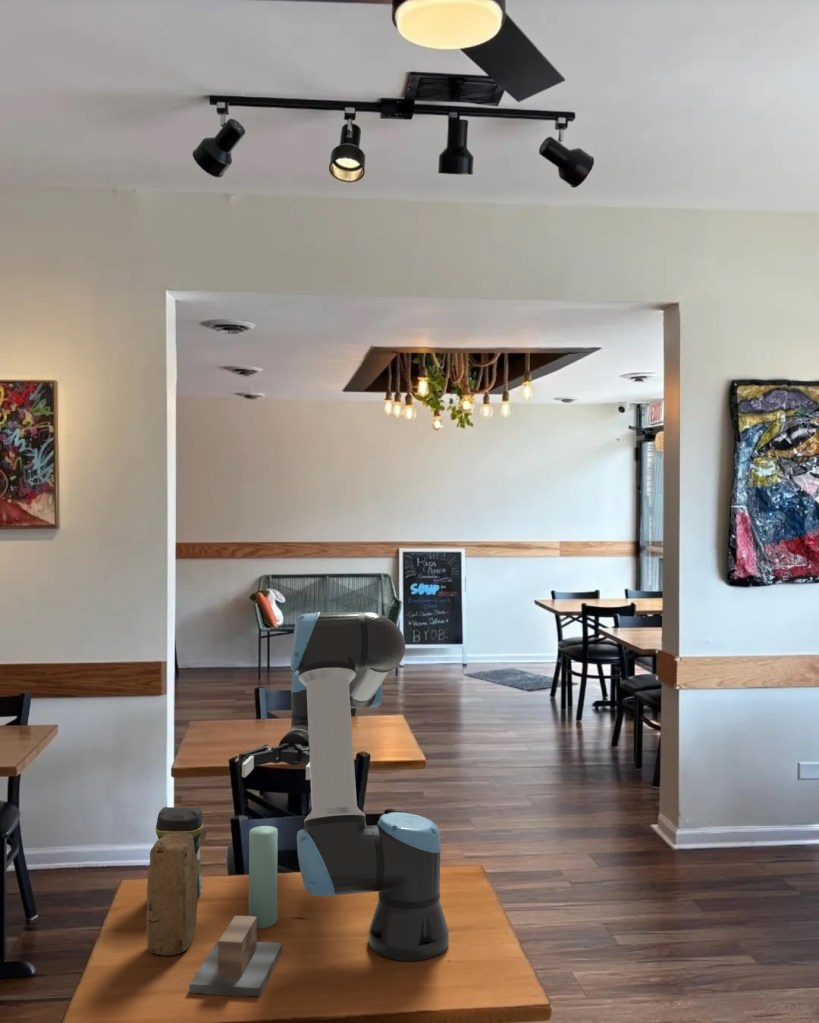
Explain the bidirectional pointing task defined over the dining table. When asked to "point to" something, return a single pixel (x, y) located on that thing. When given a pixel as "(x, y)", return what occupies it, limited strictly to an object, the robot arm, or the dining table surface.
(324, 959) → the dining table surface
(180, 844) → the block
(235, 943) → the ridge stand
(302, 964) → the dining table surface
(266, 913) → the cylinder
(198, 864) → the coffee jar
